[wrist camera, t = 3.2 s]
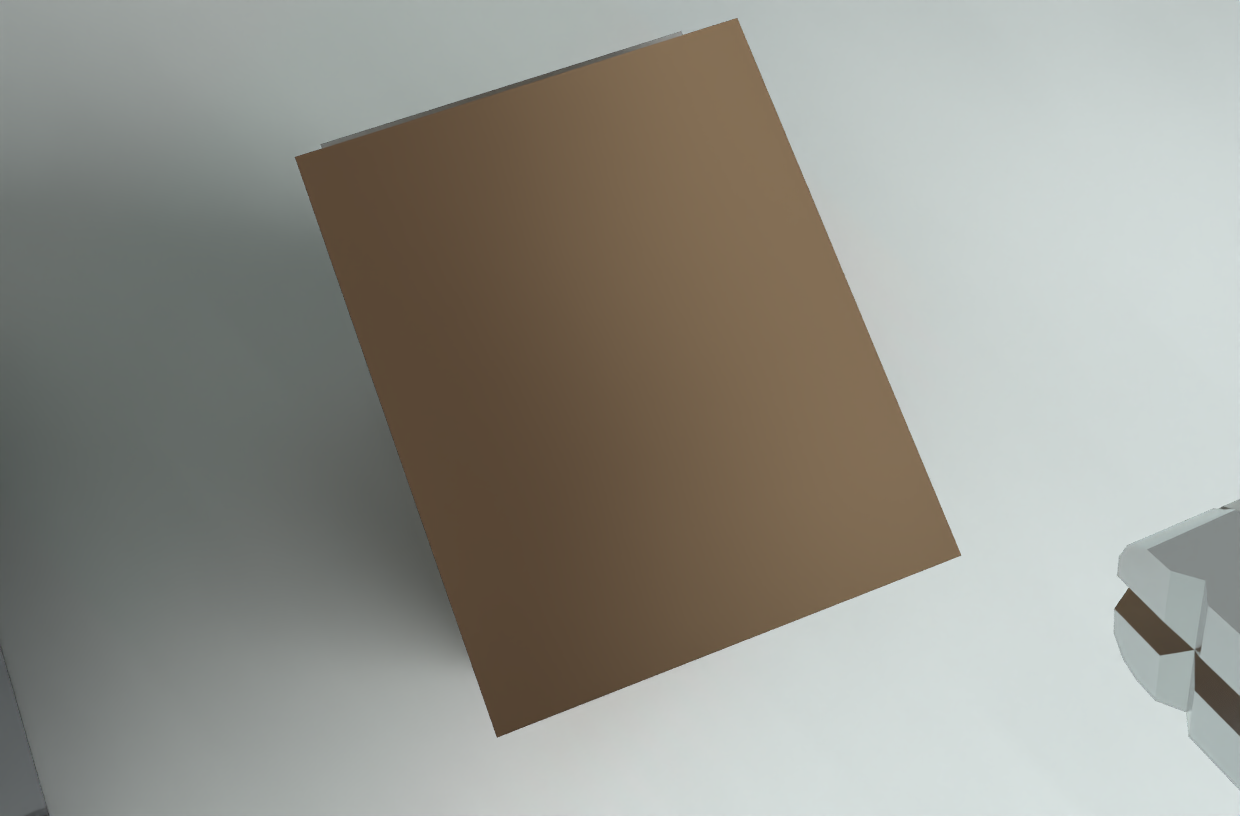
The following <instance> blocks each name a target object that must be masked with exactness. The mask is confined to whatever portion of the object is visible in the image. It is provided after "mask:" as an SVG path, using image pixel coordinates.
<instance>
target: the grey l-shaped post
mask: <svg viewBox="0 0 1240 816" xmlns="http://www.w3.org/2000/svg"><path fill="white" fill-rule="evenodd" d="M0 816H49V813H48V810H47V807H46V803H45V800H44V796H43V793H42V789H41V786H40V782H39V779H38V775H37V772H36V768H35V765H34V761H33V758H32V755H31V751H30V748H29V744H28V741H27V737H26V734H25V730H24V727H23V723H22V720H21V716H20V713H19V709H18V706H17V702H16V699H15V696H14V692H13V689H12V685H11V682H10V678H9V675H8V671H7V668H6V664H5V661H4V657H3V654H2V650H1V647H0Z"/></svg>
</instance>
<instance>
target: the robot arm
mask: <svg viewBox="0 0 1240 816" xmlns="http://www.w3.org/2000/svg"><path fill="white" fill-rule="evenodd" d="M1117 576H1118V577H1119V578H1120V579H1121V580H1122V581H1123V582H1124V583H1125V584H1126V585H1127V586H1128V587H1129V588H1128V590H1127V591H1126V593H1125V594H1124V595H1123V597H1122V598H1121V600H1120V601H1119V603H1118V604H1117V606H1116V607H1115V609H1114V635H1115V638H1116V641H1117V644H1118V647H1119V649H1120V652H1121V655H1122V658H1123V660H1124V662H1125V663H1126V665H1127V666H1128V668H1129V670H1130V671H1131V673H1132V674H1133V676H1134V677H1135V679H1136V680H1137V681H1138V682H1139V684H1140V685H1141V686H1142V687H1143V688H1144V689H1145V690H1146V691H1147V692H1148V693H1149V695H1150V696H1151V697H1152V698H1153V699H1154V700H1155V701H1157V702H1160V703H1163V704H1166V705H1168V706H1171V707H1174V708H1176V709H1179V710H1182V711H1184V712H1186V716H1187V726H1188V736H1189V737H1190V739H1191V740H1192V741H1193V742H1194V743H1195V744H1196V745H1197V746H1198V747H1199V748H1200V749H1201V750H1202V751H1203V752H1204V753H1205V754H1206V755H1207V756H1208V757H1209V759H1210V760H1211V761H1212V762H1213V763H1214V764H1215V765H1216V766H1217V767H1218V768H1219V769H1220V770H1221V771H1222V772H1223V773H1224V774H1225V775H1226V776H1227V777H1228V779H1229V780H1230V781H1231V782H1232V783H1233V784H1234V785H1235V786H1236V787H1237V788H1238V789H1239V790H1240V499H1239V500H1237V501H1234V502H1232V503H1230V504H1227V505H1225V506H1223V507H1221V508H1219V509H1211V510H1209V511H1206V512H1204V513H1202V514H1199V515H1197V516H1195V517H1192V518H1190V519H1188V520H1185V521H1183V522H1181V523H1178V524H1176V525H1174V526H1171V527H1169V528H1167V529H1164V530H1162V531H1160V532H1157V533H1155V534H1153V535H1150V536H1148V537H1146V538H1143V539H1141V540H1139V541H1136V542H1134V543H1132V544H1129V545H1127V546H1126V548H1125V549H1124V550H1123V552H1122V553H1121V554H1120V556H1119V562H1118V572H1117Z"/></svg>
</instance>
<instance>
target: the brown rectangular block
mask: <svg viewBox="0 0 1240 816" xmlns="http://www.w3.org/2000/svg"><path fill="white" fill-rule="evenodd" d="M321 147H322V149H319V150H316V151H313V152H309V153H306V154H303V155H300V156H297V157H295V159H296V162H297V164H298V167H299V170H300V173H301V176H302V179H303V182H304V185H305V187H306V190H307V193H308V196H309V199H310V202H311V205H312V208H313V210H314V213H315V216H316V219H317V222H318V225H319V228H320V231H321V233H322V236H323V239H324V242H325V245H326V248H327V251H328V254H329V256H330V259H331V262H332V265H333V268H334V271H335V274H336V276H337V279H338V282H339V285H340V288H341V291H342V294H343V297H344V299H345V302H346V305H347V308H348V311H349V314H350V317H351V320H352V322H353V325H354V328H355V331H356V334H357V337H358V340H359V343H360V345H361V348H362V351H363V354H364V357H365V360H366V363H367V366H368V368H369V371H370V374H371V377H372V380H373V383H374V386H375V388H376V391H377V394H378V397H379V400H380V403H381V406H382V409H383V411H384V414H385V417H386V420H387V423H388V426H389V429H390V432H391V434H392V437H393V440H394V443H395V446H396V449H397V452H398V455H399V457H400V460H401V463H402V466H403V469H404V472H405V475H406V477H407V480H408V483H409V486H410V489H411V492H412V495H413V498H414V500H415V503H416V506H417V509H418V512H419V515H420V518H421V521H422V523H423V526H424V529H425V532H426V535H427V538H428V541H429V544H430V546H431V549H432V552H433V555H434V558H435V561H436V564H437V567H438V569H439V572H440V575H441V578H442V581H443V584H444V587H445V589H446V592H447V595H448V598H449V601H450V604H451V607H452V610H453V612H454V615H455V618H456V621H457V624H458V627H459V630H460V633H461V635H462V638H463V641H464V644H465V647H466V650H467V653H468V656H469V658H470V661H471V664H472V667H473V670H474V673H475V676H476V679H477V681H478V684H479V687H480V690H481V693H482V696H483V699H484V701H485V704H486V707H487V710H488V713H489V716H490V719H491V722H492V724H493V727H494V730H495V733H496V736H497V737H500V736H502V735H505V734H507V733H510V732H512V731H515V730H518V729H520V728H523V727H525V726H528V725H530V724H533V723H535V722H538V721H540V720H543V719H546V718H548V717H551V716H553V715H556V714H558V713H561V712H563V711H566V710H569V709H571V708H574V707H576V706H579V705H581V704H584V703H586V702H589V701H591V700H594V699H597V698H599V697H602V696H604V695H607V694H609V693H612V692H614V691H617V690H620V689H622V688H625V687H627V686H630V685H632V684H635V683H637V682H640V681H642V680H645V679H648V678H650V677H653V676H655V675H658V674H660V673H663V672H665V671H668V670H671V669H673V668H676V667H678V666H681V665H683V664H686V663H688V662H691V661H693V660H696V659H699V658H701V657H704V656H706V655H709V654H711V653H714V652H716V651H719V650H722V649H724V648H727V647H729V646H732V645H734V644H737V643H739V642H742V641H744V640H747V639H750V638H752V637H755V636H757V635H760V634H762V633H765V632H767V631H770V630H773V629H775V628H778V627H780V626H783V625H785V624H788V623H790V622H793V621H795V620H798V619H801V618H803V617H806V616H808V615H811V614H813V613H816V612H818V611H821V610H824V609H826V608H829V607H831V606H834V605H836V604H839V603H841V602H844V601H846V600H849V599H852V598H854V597H857V596H859V595H862V594H864V593H867V592H869V591H872V590H875V589H877V588H880V587H882V586H885V585H887V584H890V583H892V582H895V581H897V580H900V579H903V578H905V577H908V576H910V575H913V574H915V573H918V572H920V571H923V570H926V569H928V568H931V567H933V566H936V565H938V564H941V563H943V562H946V561H948V560H951V559H954V558H956V557H959V556H961V554H960V551H959V549H958V546H957V544H956V542H955V539H954V537H953V534H952V532H951V530H950V527H949V525H948V522H947V520H946V518H945V515H944V513H943V510H942V508H941V506H940V503H939V501H938V498H937V496H936V494H935V491H934V489H933V486H932V484H931V482H930V479H929V477H928V474H927V472H926V470H925V467H924V465H923V462H922V460H921V458H920V455H919V453H918V450H917V448H916V446H915V443H914V441H913V438H912V436H911V434H910V431H909V429H908V426H907V424H906V422H905V419H904V417H903V414H902V412H901V410H900V407H899V405H898V402H897V400H896V398H895V395H894V393H893V390H892V388H891V386H890V383H889V381H888V379H887V376H886V374H885V371H884V369H883V367H882V364H881V362H880V359H879V357H878V355H877V352H876V350H875V347H874V345H873V343H872V340H871V338H870V335H869V333H868V331H867V328H866V326H865V323H864V321H863V319H862V316H861V314H860V311H859V309H858V307H857V304H856V302H855V299H854V297H853V295H852V292H851V290H850V287H849V285H848V283H847V280H846V278H845V275H844V273H843V271H842V268H841V266H840V263H839V261H838V259H837V256H836V254H835V251H834V249H833V247H832V244H831V242H830V239H829V237H828V235H827V232H826V230H825V227H824V225H823V223H822V220H821V218H820V215H819V213H818V211H817V208H816V206H815V203H814V201H813V199H812V196H811V194H810V191H809V189H808V187H807V184H806V182H805V179H804V177H803V175H802V172H801V170H800V167H799V165H798V163H797V160H796V158H795V155H794V153H793V151H792V148H791V146H790V143H789V141H788V139H787V136H786V134H785V131H784V129H783V127H782V124H781V122H780V119H779V117H778V115H777V112H776V110H775V108H774V105H773V103H772V100H771V98H770V96H769V93H768V91H767V88H766V86H765V84H764V81H763V79H762V76H761V74H760V72H759V69H758V67H757V64H756V62H755V60H754V57H753V55H752V52H751V50H750V48H749V45H748V43H747V40H746V38H745V36H744V33H743V31H742V28H741V26H740V24H739V21H738V19H737V18H736V19H732V20H729V21H726V22H723V23H720V24H717V25H713V26H710V27H707V28H704V29H701V30H698V31H694V32H691V33H688V34H685V35H682V32H681V31H680V32H677V33H674V34H671V35H668V36H664V37H661V38H658V39H655V40H652V41H649V42H645V43H642V44H639V45H636V46H633V47H629V48H626V49H623V50H620V51H617V52H614V53H610V54H607V55H604V56H601V57H598V58H594V59H591V60H588V61H585V62H582V63H578V64H575V65H572V66H569V67H566V68H563V69H559V70H556V71H553V72H550V73H547V74H543V75H540V76H537V77H534V78H531V79H527V80H524V81H521V82H518V83H515V84H512V85H508V86H505V87H502V88H499V89H496V90H492V91H489V92H486V93H483V94H480V95H476V96H473V97H470V98H467V99H464V100H461V101H457V102H454V103H451V104H448V105H445V106H441V107H438V108H435V109H432V110H429V111H426V112H422V113H419V114H416V115H413V116H410V117H406V118H403V119H400V120H397V121H394V122H390V123H387V124H384V125H381V126H378V127H375V128H371V129H368V130H365V131H362V132H359V133H355V134H352V135H349V136H346V137H343V138H339V139H336V140H333V141H330V142H327V143H324V144H321Z"/></svg>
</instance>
